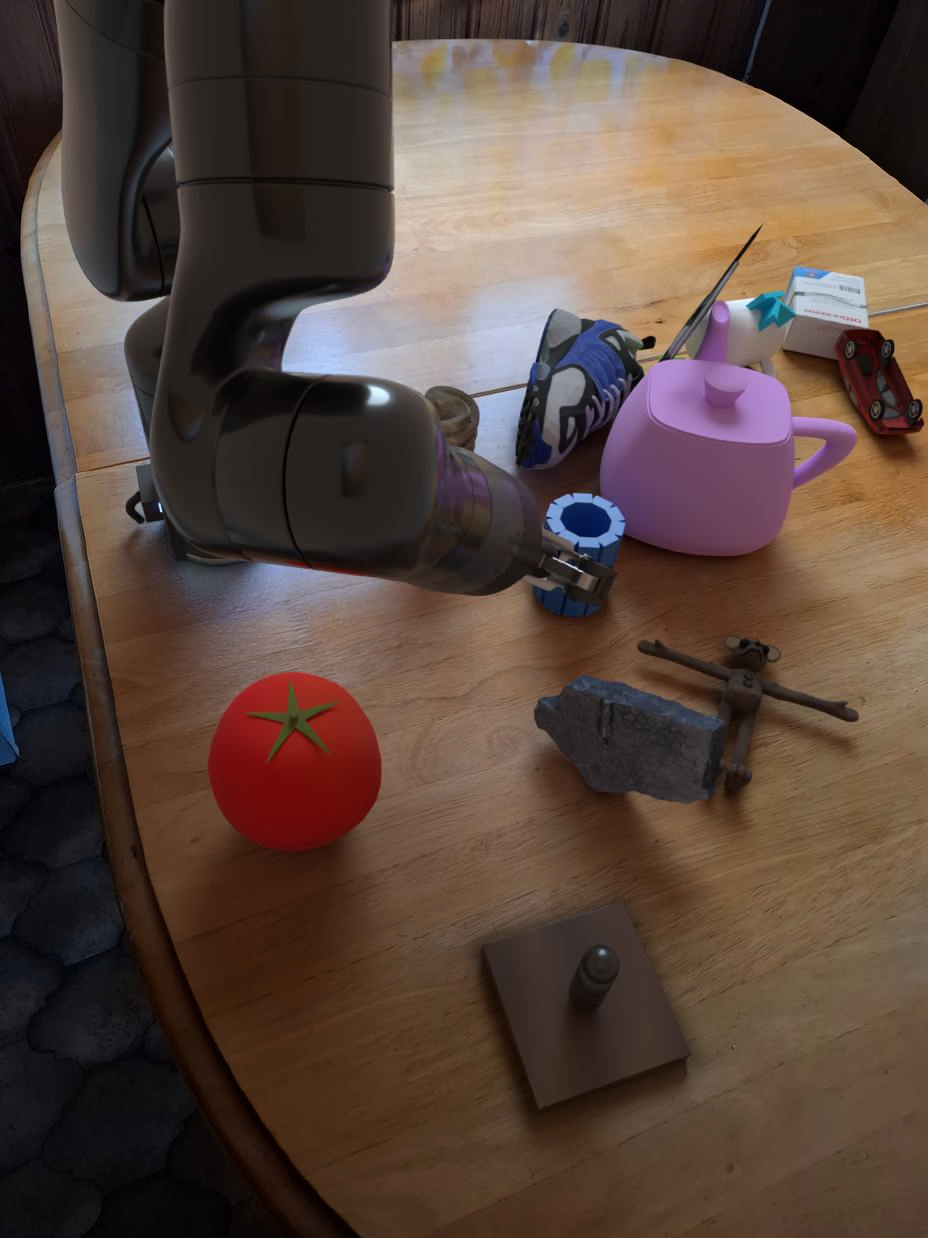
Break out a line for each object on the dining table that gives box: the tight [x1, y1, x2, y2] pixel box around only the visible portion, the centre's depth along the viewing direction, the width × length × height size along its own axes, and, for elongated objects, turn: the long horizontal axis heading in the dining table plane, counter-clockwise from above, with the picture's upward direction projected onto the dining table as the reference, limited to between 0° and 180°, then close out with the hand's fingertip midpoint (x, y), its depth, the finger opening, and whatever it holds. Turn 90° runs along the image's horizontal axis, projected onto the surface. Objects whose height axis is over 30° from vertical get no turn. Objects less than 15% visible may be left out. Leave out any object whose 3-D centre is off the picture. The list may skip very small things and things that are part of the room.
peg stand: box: [480, 901, 692, 1115], centre depth 54 cm, size 10×10×8 cm
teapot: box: [599, 299, 858, 557], centre depth 84 cm, size 23×21×15 cm
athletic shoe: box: [514, 308, 657, 470], centre depth 92 cm, size 10×26×12 cm
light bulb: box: [424, 385, 481, 453], centre depth 79 cm, size 6×6×15 cm
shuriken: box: [657, 222, 765, 363], centre depth 89 cm, size 24×1×21 cm, turn 154°
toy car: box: [834, 329, 925, 436], centre depth 100 cm, size 6×15×5 cm, turn 10°
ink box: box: [782, 265, 871, 361], centre depth 109 cm, size 8×5×12 cm
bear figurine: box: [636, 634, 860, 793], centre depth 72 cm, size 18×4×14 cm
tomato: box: [207, 671, 383, 852], centre depth 60 cm, size 11×11×13 cm
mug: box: [684, 290, 796, 380], centre depth 99 cm, size 12×9×12 cm
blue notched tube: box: [532, 492, 626, 618], centre depth 77 cm, size 6×7×8 cm
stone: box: [533, 672, 727, 805], centre depth 65 cm, size 14×6×10 cm, turn 69°
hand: (531, 549), depth 64 cm, fingers open, 8 cm apart
